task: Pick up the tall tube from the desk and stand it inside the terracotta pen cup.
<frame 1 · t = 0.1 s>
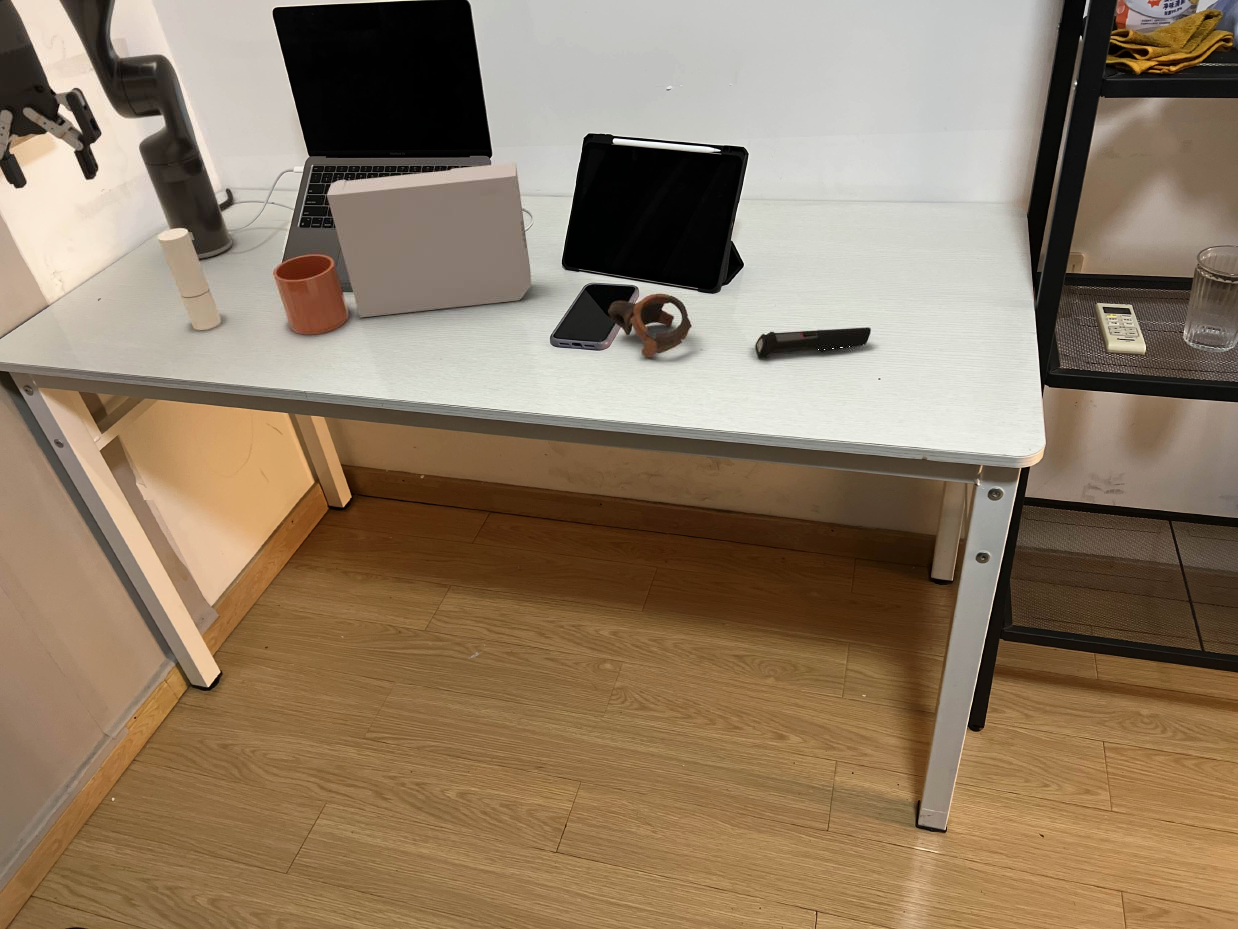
hand: (56, 181, 116), 29 cm above the table, tool pointing down, fingers open, 8 cm apart
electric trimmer: (809, 350, 128), on the table
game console: (447, 301, 147), on the table
tube: (207, 324, 146), on the table
pen cup: (319, 320, 144), on the table
brown ring bracket: (650, 342, 133), on the table
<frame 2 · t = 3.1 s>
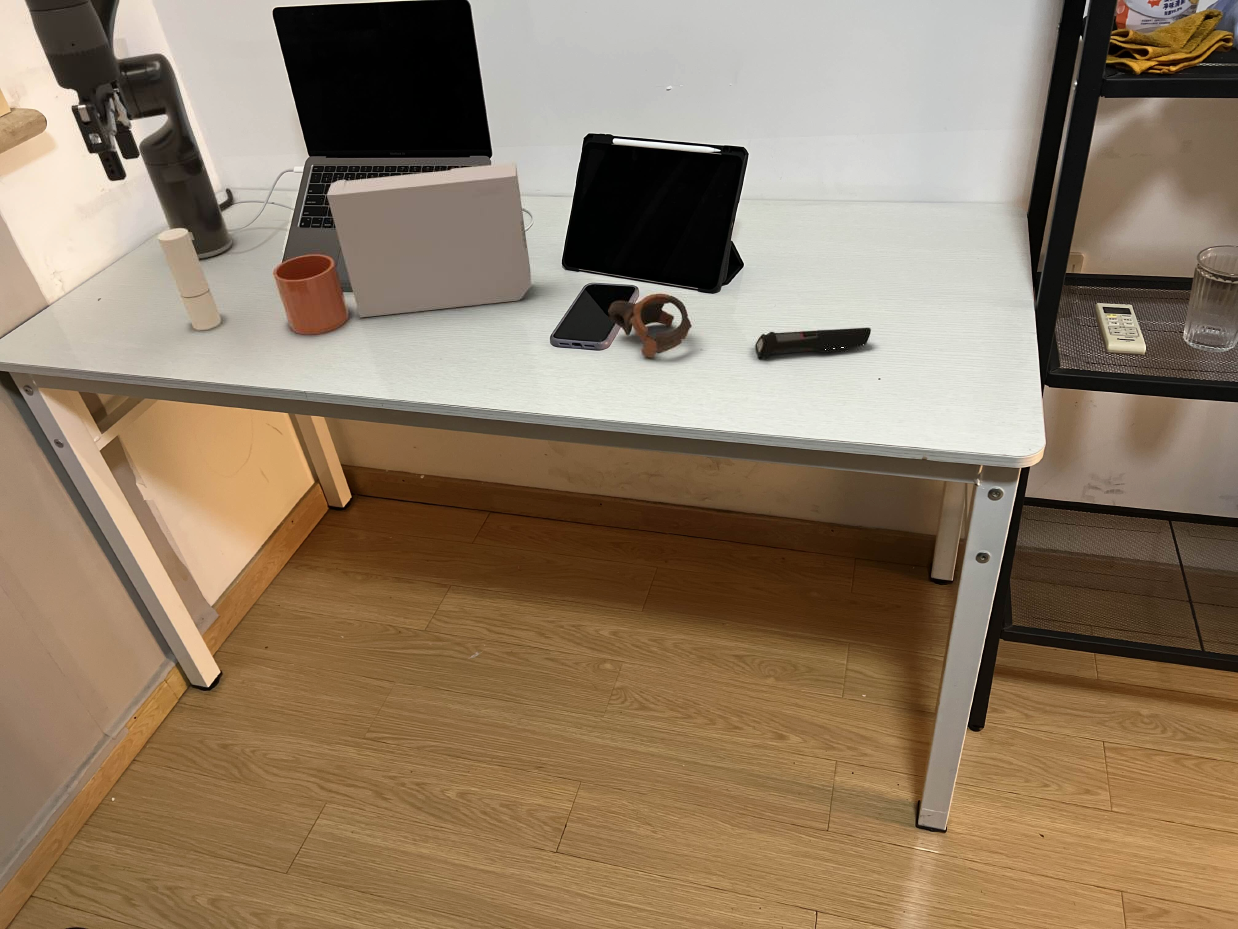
hand: (125, 168, 127), 26 cm above the table, tool pointing down, fingers open, 8 cm apart
nothing on the table moved.
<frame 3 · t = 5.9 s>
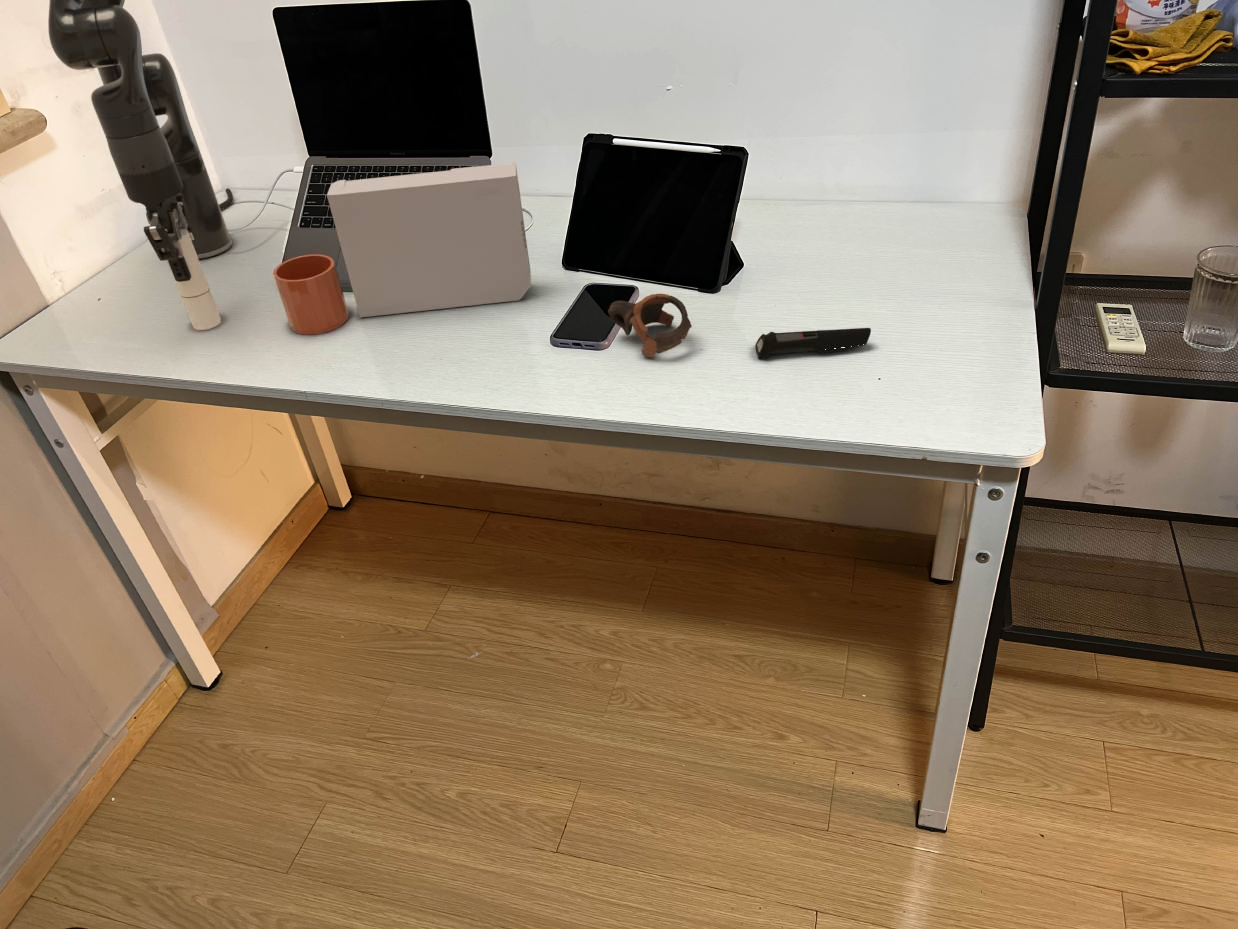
hand: (187, 272, 141), 9 cm above the table, tool pointing down, fingers closed on tube, 4 cm apart
tube: (207, 324, 146), on the table, touching gripper
everything else where it was.
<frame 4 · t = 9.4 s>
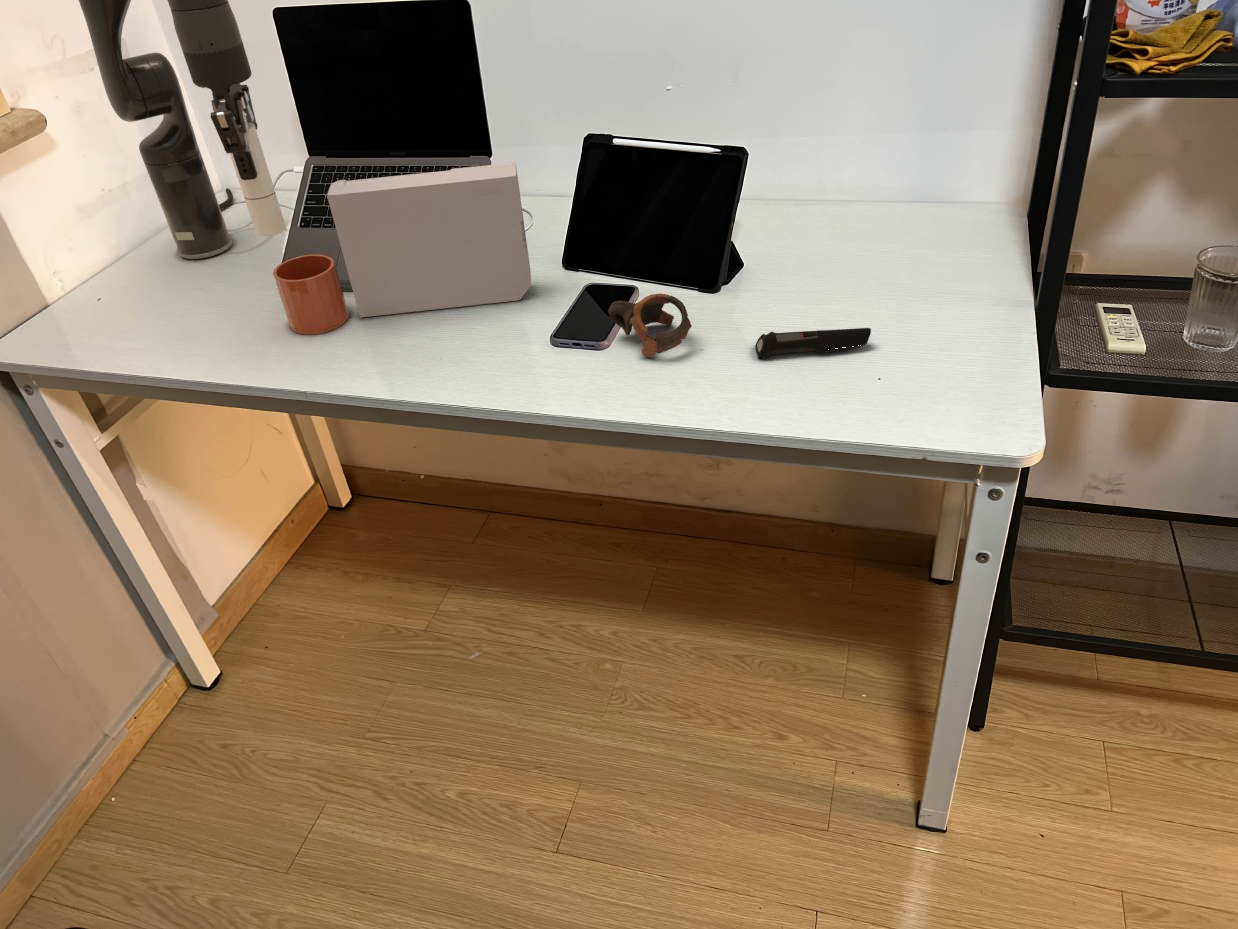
hand: (252, 171, 130), 24 cm above the table, tool pointing down, fingers closed on tube, 4 cm apart
tube: (271, 231, 135), point 15 cm above the table, touching gripper
everything else where it was.
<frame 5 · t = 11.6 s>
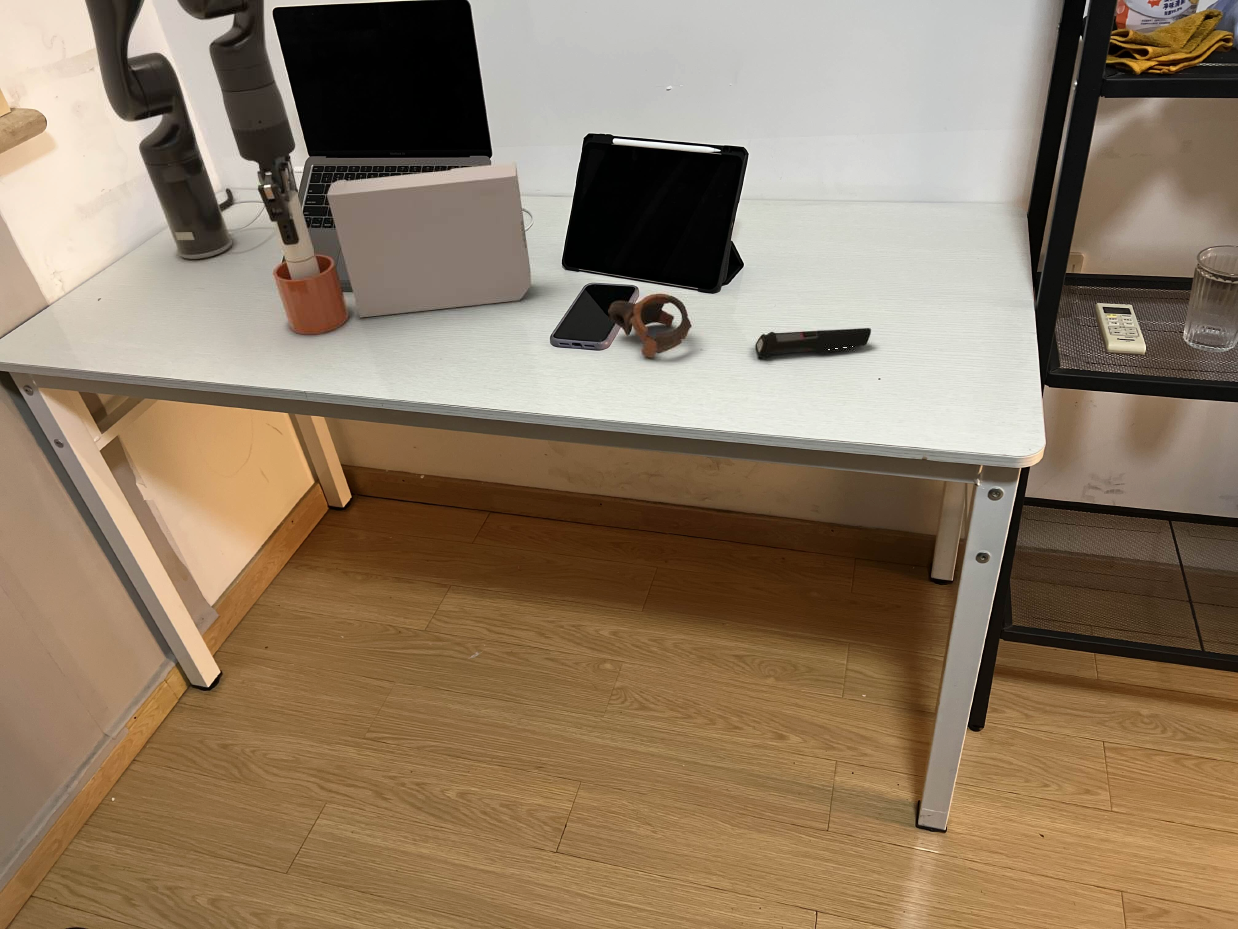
hand: (293, 236, 136), 14 cm above the table, tool pointing down, fingers closed on tube, 4 cm apart
tube: (310, 291, 141), point 5 cm above the table, touching gripper
everything else where it was.
when the fingers open (9 cm above the table, at t = 13.1 s): tube stays where it is, resting on pen cup.
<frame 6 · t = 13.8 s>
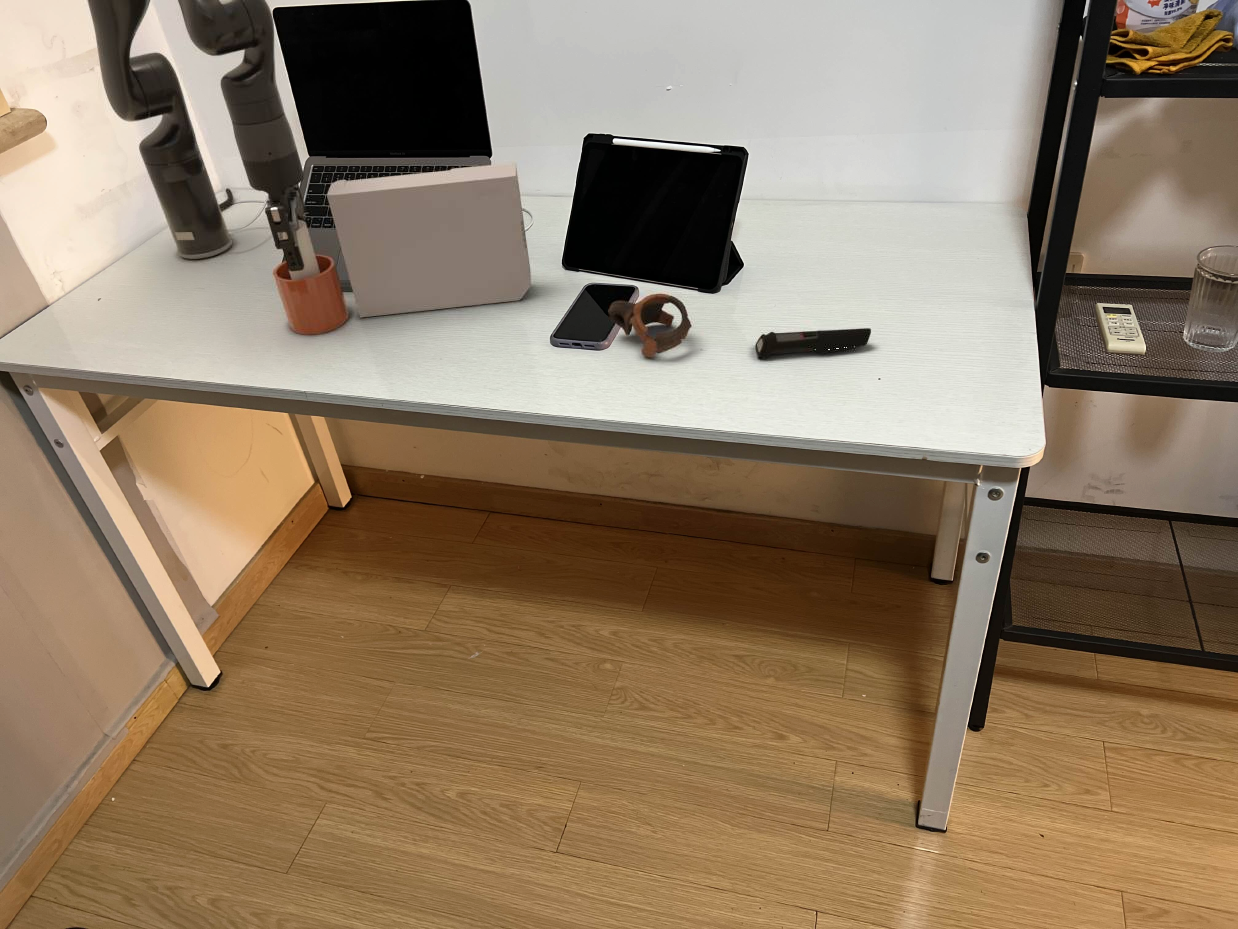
hand: (300, 257, 138), 11 cm above the table, tool pointing down, fingers open, 8 cm apart
tube: (318, 317, 144), resting on pen cup
everything else where it was.
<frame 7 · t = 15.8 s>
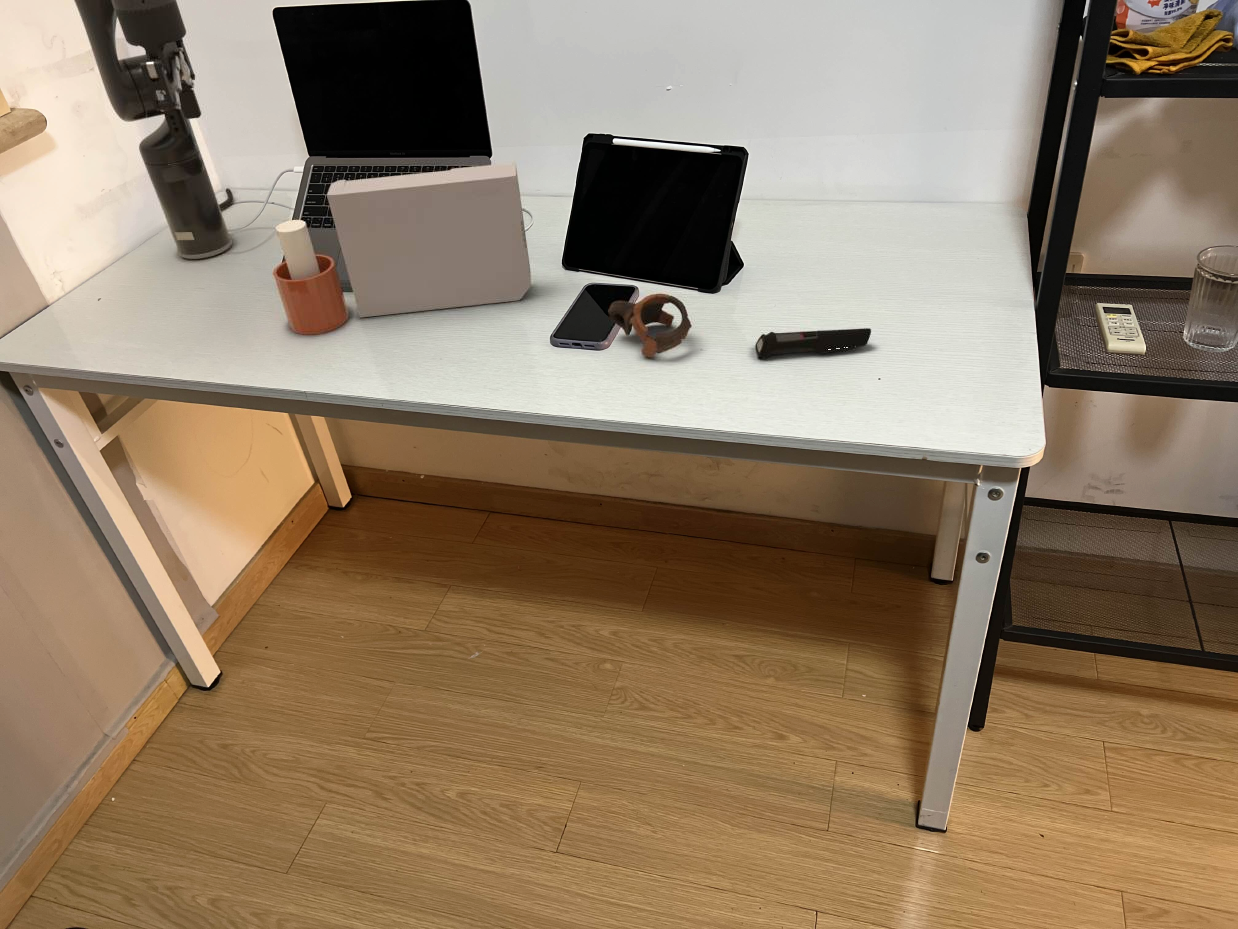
hand: (188, 127, 129), 30 cm above the table, tool pointing down, fingers open, 8 cm apart
nothing on the table moved.
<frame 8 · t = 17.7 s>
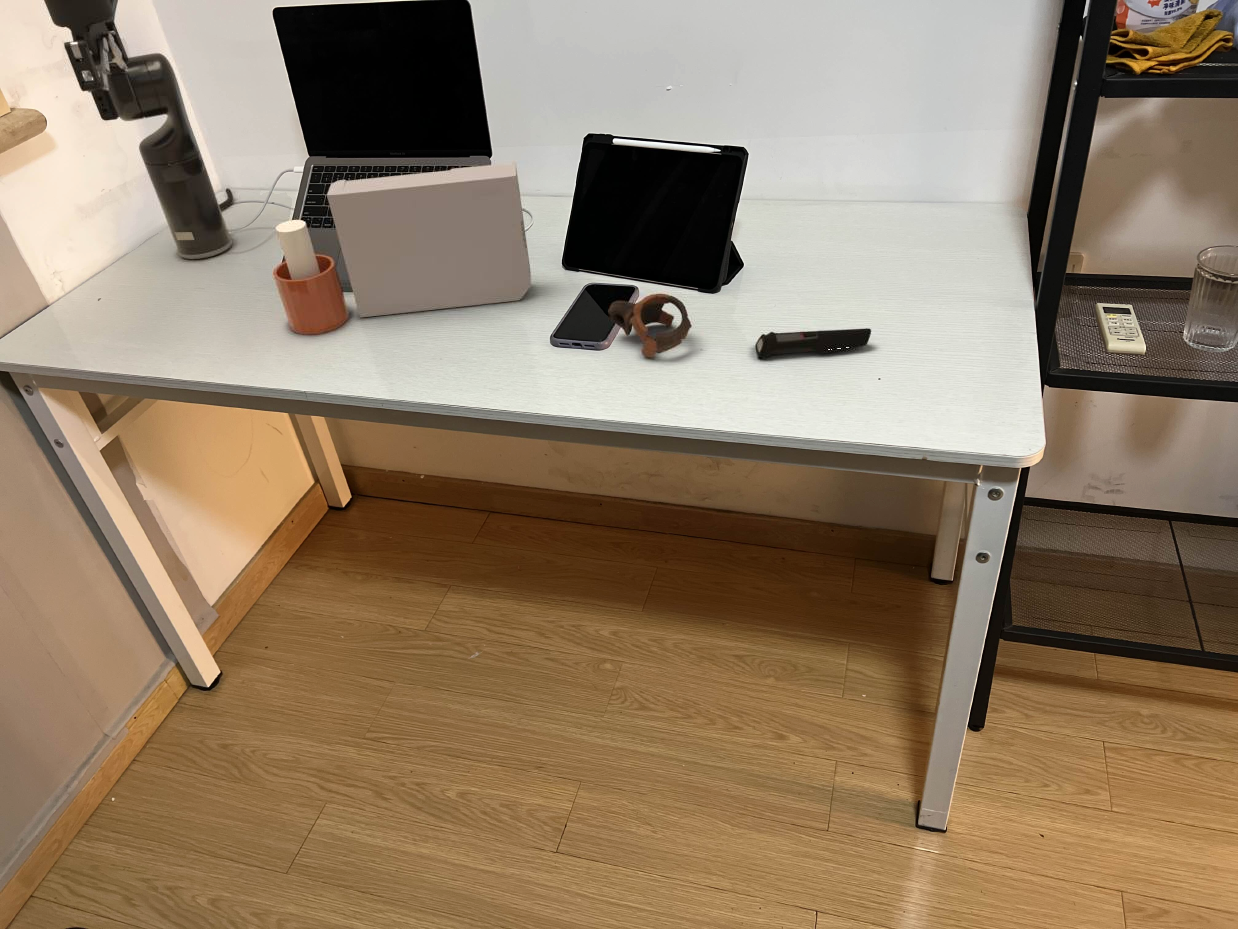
hand: (120, 109, 129), 32 cm above the table, tool pointing down, fingers open, 8 cm apart
nothing on the table moved.
at the end: tube 0.1 cm off-centre in the pen cup, point 0.4 cm above the pen cup's base; tube tilted 0°; the gripper is holding nothing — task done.
